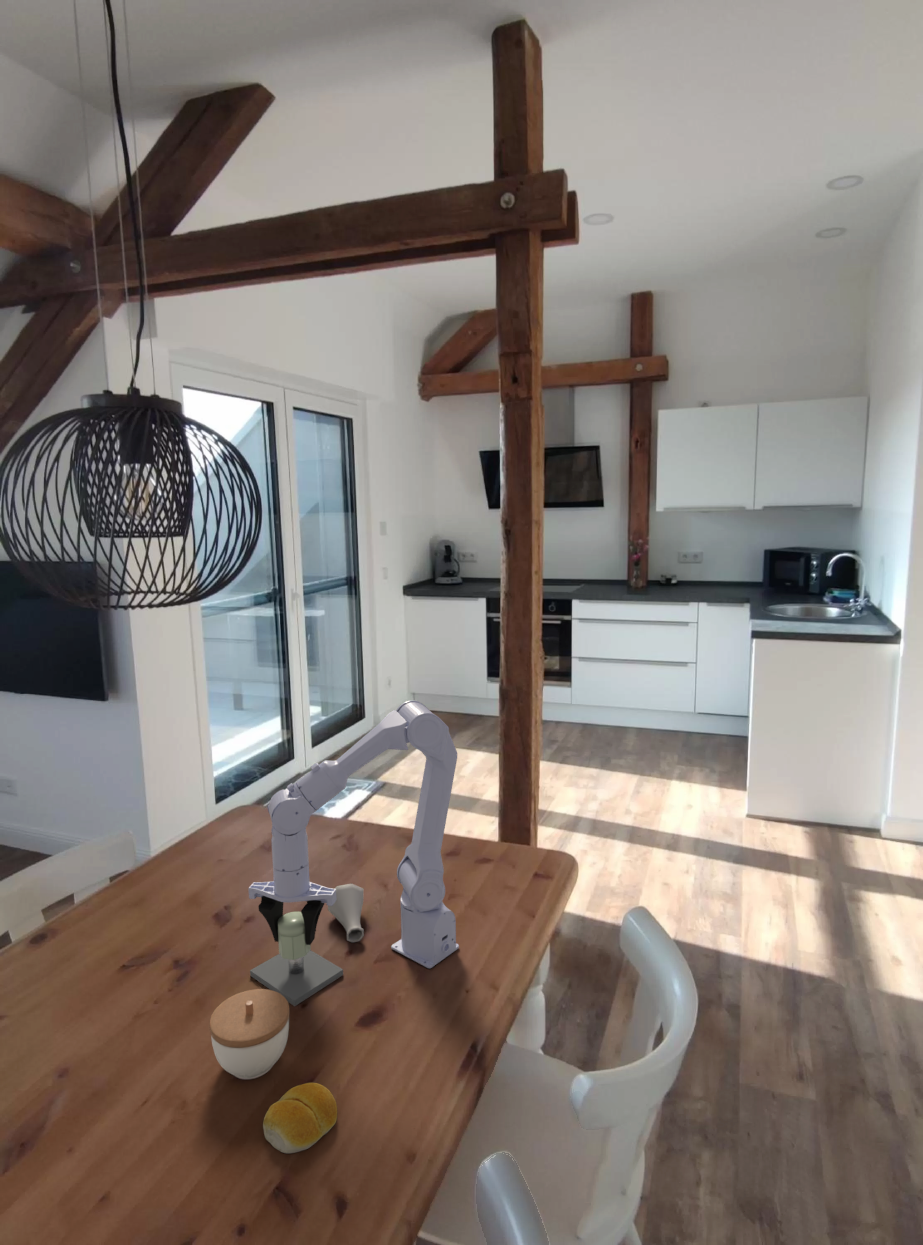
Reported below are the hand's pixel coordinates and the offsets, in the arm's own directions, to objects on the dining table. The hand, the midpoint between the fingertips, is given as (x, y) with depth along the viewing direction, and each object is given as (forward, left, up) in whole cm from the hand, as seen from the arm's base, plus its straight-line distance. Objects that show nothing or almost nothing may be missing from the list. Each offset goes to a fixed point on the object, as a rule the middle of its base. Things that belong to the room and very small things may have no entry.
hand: (294, 939), depth 120 cm
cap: (0, 0, -2) cm, 2 cm away
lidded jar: (-11, +16, -7) cm, 20 cm away
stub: (0, 0, -6) cm, 6 cm away
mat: (0, 0, -6) cm, 6 cm away
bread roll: (-25, +18, -7) cm, 32 cm away
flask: (+8, -18, -3) cm, 19 cm away
